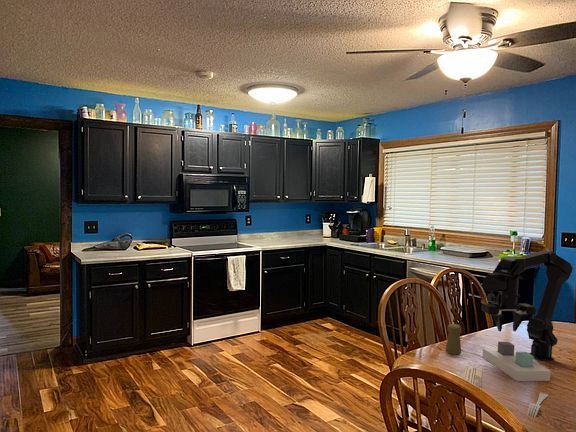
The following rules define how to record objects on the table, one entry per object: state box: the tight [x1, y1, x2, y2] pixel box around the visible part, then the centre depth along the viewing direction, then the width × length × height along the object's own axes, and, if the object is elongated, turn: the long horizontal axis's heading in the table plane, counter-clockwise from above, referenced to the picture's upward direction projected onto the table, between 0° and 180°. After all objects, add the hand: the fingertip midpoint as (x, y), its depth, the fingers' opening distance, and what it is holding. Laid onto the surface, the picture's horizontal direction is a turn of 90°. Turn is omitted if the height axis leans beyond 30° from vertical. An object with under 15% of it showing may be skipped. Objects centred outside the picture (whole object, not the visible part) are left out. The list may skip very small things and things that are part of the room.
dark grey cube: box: [497, 341, 515, 356], centre depth 167 cm, size 4×4×4 cm
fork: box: [527, 392, 549, 419], centre depth 134 cm, size 3×21×3 cm, turn 140°
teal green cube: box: [515, 351, 535, 367], centre depth 156 cm, size 4×4×4 cm
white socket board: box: [482, 347, 551, 382], centre depth 162 cm, size 12×22×4 cm, turn 6°
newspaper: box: [461, 366, 483, 389], centre depth 148 cm, size 24×7×2 cm, turn 154°
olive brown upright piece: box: [445, 323, 462, 355], centre depth 177 cm, size 6×6×11 cm
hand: (506, 331), depth 167 cm, fingers open, 6 cm apart
